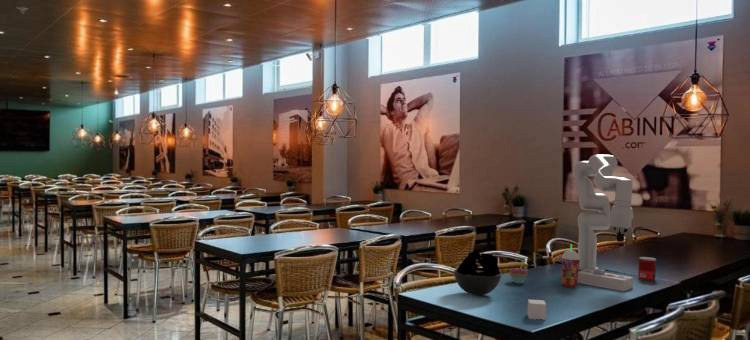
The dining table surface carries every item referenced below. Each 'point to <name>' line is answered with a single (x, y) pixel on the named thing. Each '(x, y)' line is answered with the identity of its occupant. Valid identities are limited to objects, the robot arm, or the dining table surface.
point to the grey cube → (536, 309)
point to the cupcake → (518, 274)
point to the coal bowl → (478, 273)
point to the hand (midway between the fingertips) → (620, 241)
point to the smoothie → (570, 268)
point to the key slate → (599, 271)
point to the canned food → (647, 268)
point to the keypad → (605, 281)
